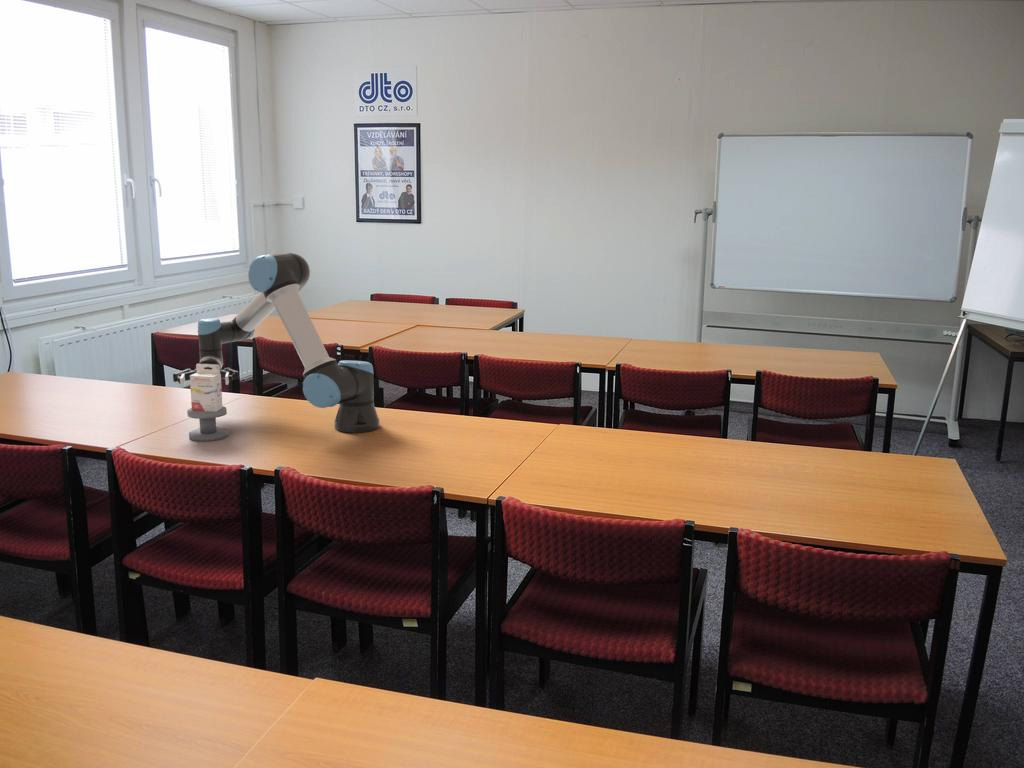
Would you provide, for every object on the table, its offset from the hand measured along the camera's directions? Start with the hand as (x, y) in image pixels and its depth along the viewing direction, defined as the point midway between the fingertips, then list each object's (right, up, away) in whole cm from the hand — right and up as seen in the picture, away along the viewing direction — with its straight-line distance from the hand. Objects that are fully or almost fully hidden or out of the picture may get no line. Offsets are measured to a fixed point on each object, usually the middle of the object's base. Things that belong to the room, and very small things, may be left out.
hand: (204, 381), depth 265 cm
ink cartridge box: (-1, -9, +5) cm, 11 cm away
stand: (-1, -18, +7) cm, 19 cm away
